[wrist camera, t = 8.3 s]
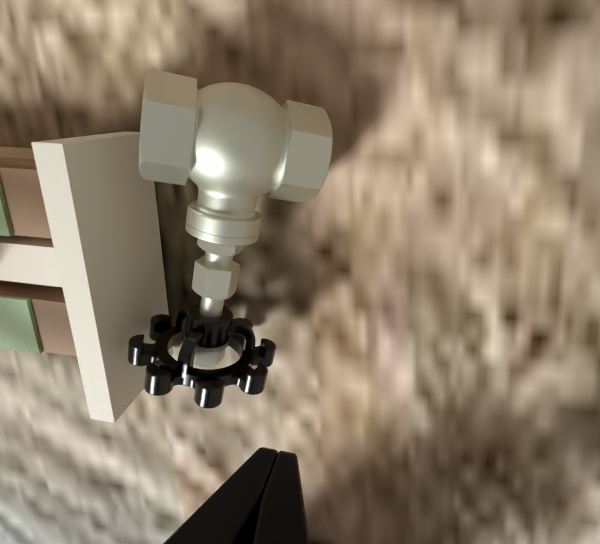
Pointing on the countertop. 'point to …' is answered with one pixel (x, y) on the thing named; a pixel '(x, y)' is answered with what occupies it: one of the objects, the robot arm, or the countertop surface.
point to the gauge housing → (23, 296)
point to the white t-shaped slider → (97, 258)
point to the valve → (222, 215)
